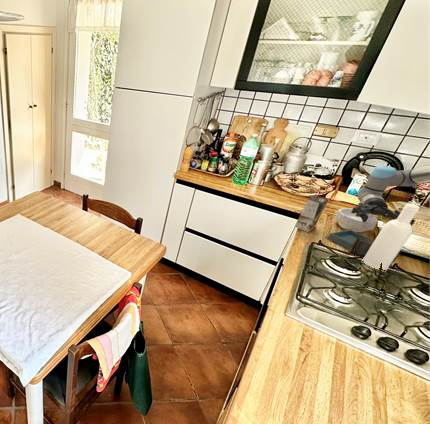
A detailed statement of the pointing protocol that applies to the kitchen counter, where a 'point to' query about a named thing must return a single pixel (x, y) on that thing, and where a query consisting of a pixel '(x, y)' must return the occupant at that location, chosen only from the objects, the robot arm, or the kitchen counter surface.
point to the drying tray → (346, 238)
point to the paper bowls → (354, 220)
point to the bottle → (391, 239)
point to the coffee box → (311, 213)
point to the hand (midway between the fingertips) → (387, 224)
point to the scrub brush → (363, 248)
